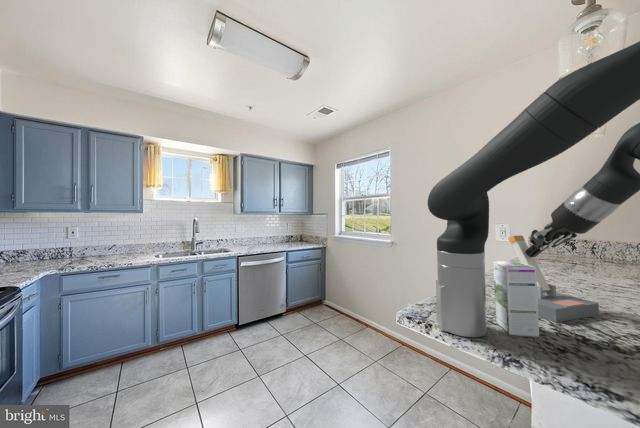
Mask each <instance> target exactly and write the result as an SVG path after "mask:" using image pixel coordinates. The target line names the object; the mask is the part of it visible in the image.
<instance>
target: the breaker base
mask: <svg viewBox="0 0 640 428" xmlns="http://www.w3.org/2000/svg"><path fill="white" fill-rule="evenodd" d="M547 284H548V286H549V288H550V289H551V290H550V291H549V292H544V293H543V287H540V286H537V295H538V317H539V318H543V319H545V320H549V321H551V322H553V323H554V322H555V323H561V322H567V321H573V320H580V319H586V318H587V319H588V318H591V317H597V316H598V317H599V316H600V312H599V311H600V308H599V307H600V306H599V302H596V301H595V302H594V301H591V300H589V299H588V300H587V299H583V298H580V297H575V296H572V295H569V294H568V295H567V294H564V293H560V292H557V286H556V285H555V284H551V283H547Z"/></svg>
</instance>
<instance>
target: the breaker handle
mask: <svg viewBox="0 0 640 428" xmlns="http://www.w3.org/2000/svg"><path fill="white" fill-rule="evenodd" d="M507 239H508V241H509V243H510V244H511V246H512V248H513V249H514V252H515V254H516V256H517V258H518V260H519V262H521V263H524V264H528V265H531V266H534V267H536V272H537V286H540V287H543V293H544V292H549V291H550V290H551V289H550V288H549V286H548V284H549V283H548V282H547V280H546V278H545V277H544V275H543V273H542V271H541V269H540V267H539V265H538V263H537V261H536V259H535V257H529V256H528V255H527V254H526V252H525V251H526V250H527V249H528V248H529V246H528V245H527V242H526V239H525V237H524V236H523V235H512V236H509V237H507Z"/></svg>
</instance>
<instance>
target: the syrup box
mask: <svg viewBox="0 0 640 428" xmlns="http://www.w3.org/2000/svg"><path fill="white" fill-rule="evenodd" d="M493 285H494V311H495V312H494V313H495V324H496V325H498V326H499V327H500V328H501V329H502V330H504V331H505V332H506V333H507V334H509V335H511V336H519V337H520V336H521V337H534V338H537V337H538V338H539V337H540V324H539V323H540V322H539V320H540V317H539V316H538V295H537V272H536V267H534V266H531V265H528V264H524V263H521V262H520V261H513V260H512V261H511V260H504V261H503V260H501V261H500V260H499V261H493Z"/></svg>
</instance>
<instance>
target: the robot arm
mask: <svg viewBox="0 0 640 428" xmlns="http://www.w3.org/2000/svg"><path fill="white" fill-rule="evenodd" d="M638 101H640V40H639V41H637V42H635V43H633V44H631V45H629V46H627V47H625V48H623V49H620V50H617V51H616V52H614V53H611V54H609V55H606V56H605V57H602V58H600V59H597V60H594V61H593V62H591V63H589V64H587V65H584V66H583V67H580V68H578V69H576V70H574V71H572V72H570V73H568V74H566V75H565V76H563V77H561V78H560V79H558V80H557V81H556V82H554V83H553V84H551V85H550V86H549V87H548V88H547V89H546V90H545V91H543V92H542V93H541V94H540V95H539V96H538V97H537V98H535V100H533V101H532V102H531V103H530V104H529V105H528V106H527V107H526V108H524V109H523V111H521V112H520V113H519V114H518V115H517V116H516V117H515V118H514V119H512V121H511V122H510V123H508V125H506V126H505V127H504V128H503V129H502V130H501V131H499V132H498V133H497V134H496V135H495V136H494V137H492V138H491V139H490V140H489V141H488V142H487V143H486V144H485V145H484V146H483V147H482V148H481V149H479V150H477V152H476V153H475V154H474V155H472V156H471V157H470V158H468V160H466V161H465V162H464V163H462V164H461V165H459V166H458V167H457V168H455V169H454V170H453V171H451V172H450V173H449V174H447V175H446V176H445V177H443V178H442V179H441V180H439V181H438V182H437V183H436V184H434V186H433V187H432V189H431V190H430V192H429V194H428V196H427V207H428V210H429V213H431V214H432V215H433V216H434V217H435V218H437V219H440V220H444V221H447V222H446V228H445V230H444V232H443V233H442V234H441V235H439V236H438V237H437V239H436V261H437V262H436V263H437V264H436V265H437V266H436V267H437V268H436V269H437V270H436V271H437V280H435V296H436V298H435V300H436V305H435V306H436V309H435V310H436V321H437V323H438V325H439V326H438V327H439V329H440V330H441V331H442V332H446V333H451V334H453V335H456V336H460V337H465V338H481V337H484V336H486V334H487V305H486V304H487V295H486V294H487V293H486V292H487V291H486V257H485V255H486V252H485V247H486V246H485V245H486V242H487V240H488V237H489V233H490V232H489V231H490V200H489V198H490V197H489V194H488V192H490V191H491V190H492V189H493V188H495V187H497V185H499V184H501V183H503V182H504V181H506V180H508V179H510V178H513V177H514V176H516V175H518V174H521V173H523V172H526V171H528V170H530V169H532V168H534V167H538V166H539V165H541V164H543V163H546V162H547V161H550V160H552V159H553V158H555V157H558V156H559V155H561V154H563V153H564V152H565V151H567V150H569V149H570V148H572V147H574V146H575V145H577V144H578V143H580V142H581V141H583V140H584V139H585V138H587V137H589V136H590V135H592V134H593V133H594V132H596V131H597V130H598V129H600V128H602V126H604V125H605V124H607V123H608V122H610V121H611V120H613V119H614V118H615V117H617V116H618V115H619V114H621V113H622V112H623V111H625V110H626V109H628V108H629V107H630V106H632V105H633V104H635V103H636V102H638ZM636 160H638V161H640V122H638V123H636V124H635V125H633V126H631V127H630V128H628V130H626V131H625V132H624V133H623V134H622V136H621V137H620V138H619V140H618V141H617V143H616V144H615V147H613V149H612V151H611V153H610V154H609V156H608V158H607V159H606V161H605V162H604V163H603V165H602V167H601V168H600V169H599V170H598V171H597V173H595V175H593V176H592V177H591V178H590V179H589V180H588V181H587V182H586V183H584V184H583V185H582V186H581V187H580V188H578V189H576V190H575V191H574V192H573V193H571V195H569V196H568V197H567V198H566V199H565V200H564V201H563V202H562V203H561V204H560V205H559V206H557V207H556V208H555V209H554V210H553V211H552V212H551V214H550V217H551V220H552V221H551V222H550V223H548V224H546V225H545V226H544V227H543V229H542V230H538V229H534V230H532V231H531V233H530V237H529V242H530V243H531V244H532V245H530V247H528V249H527V250H526V251H525V252H526V254H527V255H528V256H529V257H534V258H536V257H538V256H539V255H540V254H542V253H543V252H544V251H545V250H549V249H550V248H551V249H552V248H556V247H558V246H561V245H562V244H564V243H566V242H568V241H570V240H573V239H574V238H577V236H578V234H581V235H585V234H586V233H588V232H589V231H591V230H592V229H593V228H595V227H596V226H597V225H598V224H600V223H601V222H602V221H604V220H605V219H606V218H608V217H609V216H610V215H612V214H613V213H614V212H615V211H616V210H617V209H618V208H619V207H620V206H621V205H623V204H624V203H625V202H626V201H627V200H629V199H631V198H632V196H634V195H635V194H637V193H638V192H640V172H638V171H637V170H636V168H635V167H634V163H635V161H636Z"/></svg>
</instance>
